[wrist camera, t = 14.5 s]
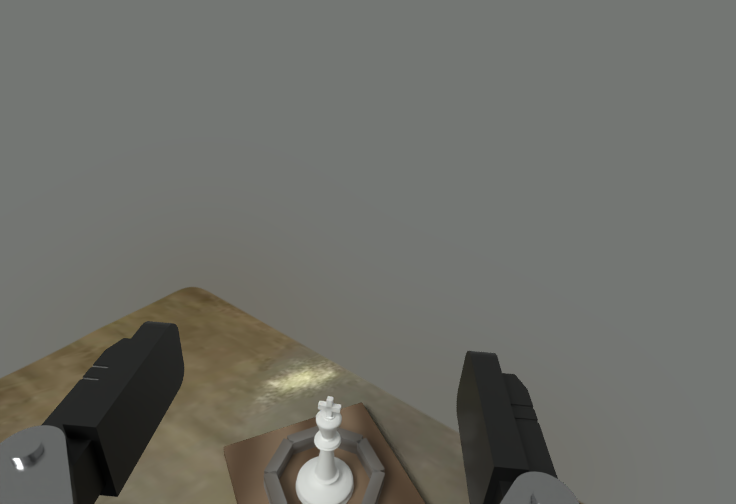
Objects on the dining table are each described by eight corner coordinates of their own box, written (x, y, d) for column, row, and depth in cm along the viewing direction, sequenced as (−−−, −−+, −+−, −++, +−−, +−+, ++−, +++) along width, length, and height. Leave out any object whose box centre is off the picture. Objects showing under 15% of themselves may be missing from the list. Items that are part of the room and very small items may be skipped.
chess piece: (346, 519, 37) (355, 431, 32) (287, 505, 37) (287, 417, 32) (358, 466, 41) (368, 382, 36) (305, 454, 41) (307, 370, 37)
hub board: (360, 409, 48) (362, 391, 47) (436, 532, 37) (441, 512, 36) (224, 454, 42) (222, 435, 41) (267, 616, 31) (266, 597, 30)
